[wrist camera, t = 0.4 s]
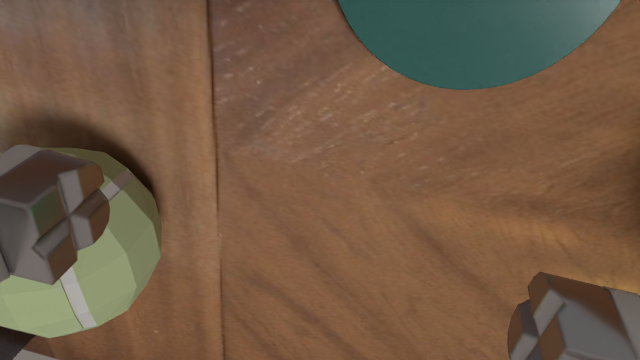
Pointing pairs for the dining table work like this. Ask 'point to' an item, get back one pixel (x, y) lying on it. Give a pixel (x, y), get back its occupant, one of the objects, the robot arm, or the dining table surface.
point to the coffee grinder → (12, 342)
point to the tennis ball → (93, 263)
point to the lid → (473, 36)
